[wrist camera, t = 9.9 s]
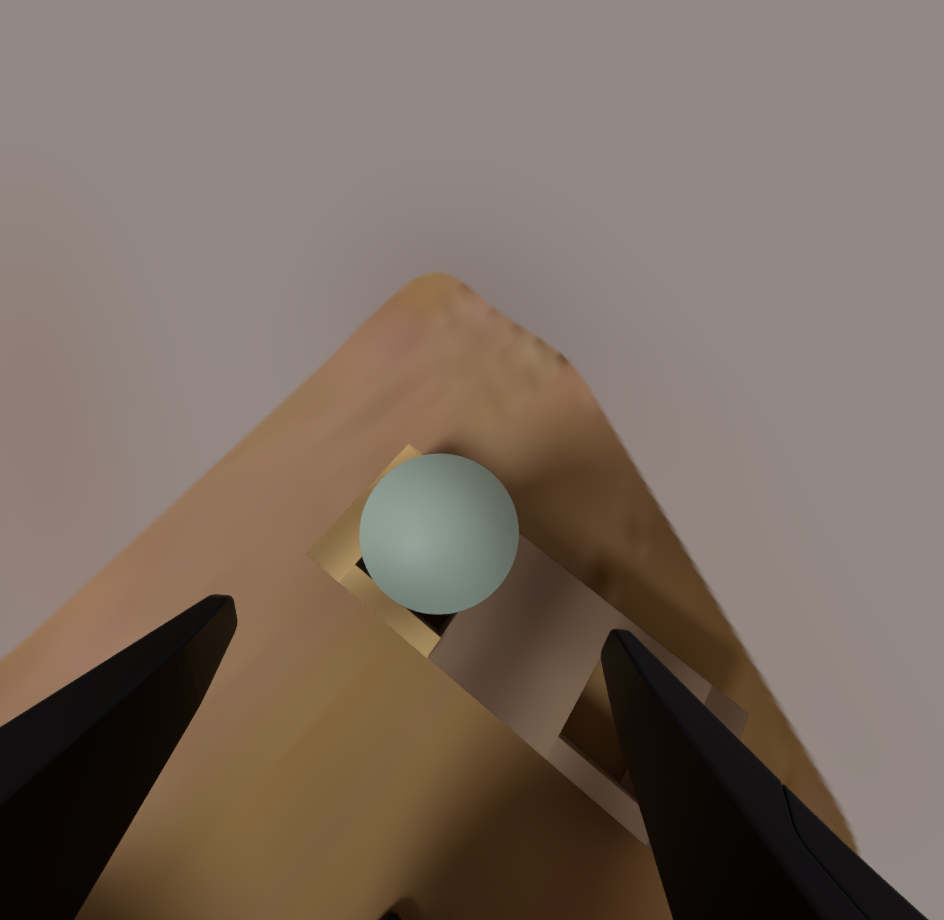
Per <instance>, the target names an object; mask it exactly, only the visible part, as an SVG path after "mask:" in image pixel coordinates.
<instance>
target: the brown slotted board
mask: <svg viewBox="0 0 944 920" xmlns="http://www.w3.org/2000/svg"><path fill="white" fill-rule="evenodd" d="M419 456H423V455H422V454H421V453H420V452H418V451H417V450H416V449H415V448H413V447H412V446H411V445H409V444H408V445H407V446H406V447H405V448H404V449H403V451H402V452H401V453H400V454H399V455H398V456H397V457H396V458H395V459H394V460H393V461H392V462H391V463H390V464H389V465H388V467H387V468H386V469H385V470H384V471H383V472H382V473H381V474H380V475H379V476H378V477H377V478H376V479H375V480H374V482H373V483H372V484H371V485H370V486H369V487H368V488H367V489H366V490H365V491H364V492H363V493H362V494H361V495H360V497H359V498H358V499H357V500H356V501H355V502H354V503H353V504H352V505H351V506H350V507H349V508H348V509H347V510H346V511H345V513H344V514H343V515H342V516H341V517H340V518H339V519H338V520H337V521H336V522H335V523H334V524H333V525H332V526H331V528H330V529H329V530H328V531H327V532H326V533H325V534H324V535H323V536H322V537H321V538H320V539H319V540H318V541H317V542H316V544H315V545H314V546H313V547H312V548H311V549H310V550H309V551H308V552H307V553H306V554H307V555H308V556H309V557H310V558H311V559H312V560H314V561H315V562H316V563H317V564H318V565H319V566H321V567H322V568H323V569H324V570H325V571H326V572H327V573H329V574H330V575H331V576H332V577H333V578H334V579H336V580H337V581H338V582H339V583H340V584H341V585H343V586H344V587H345V588H346V589H347V590H348V591H350V592H351V593H352V594H353V595H354V596H355V597H356V598H358V599H359V600H360V601H361V602H362V603H363V604H365V605H366V606H367V607H368V608H369V609H370V610H372V611H373V612H374V613H375V614H376V615H377V616H379V617H380V618H381V619H382V620H383V621H384V622H385V623H387V624H388V625H389V626H390V627H391V628H392V629H394V630H395V631H396V632H397V633H398V634H399V635H401V636H402V637H403V638H404V639H405V640H406V641H408V642H409V643H410V644H411V645H412V646H413V647H414V648H416V649H417V650H418V651H419V652H420V653H421V654H423V655H424V656H425V657H426V658H427V657H428V658H429V659H430V660H431V661H432V662H433V663H435V664H436V665H437V666H438V667H439V668H440V669H442V670H443V671H444V672H445V673H446V674H447V675H448V676H450V677H451V678H452V679H453V680H454V681H455V682H457V683H458V684H459V685H460V686H461V687H462V688H464V689H465V690H466V691H467V692H468V693H469V694H471V695H472V696H473V697H474V698H475V699H476V700H478V701H479V702H480V703H481V704H482V705H483V706H484V707H486V708H487V709H488V710H489V711H490V712H491V713H493V714H494V715H495V716H496V717H497V718H498V719H500V720H501V721H502V722H503V723H504V724H505V725H507V726H508V727H509V728H510V729H511V730H512V731H513V732H515V733H516V734H517V735H518V736H519V737H520V738H522V739H523V740H524V741H525V742H526V743H527V744H529V745H530V746H531V747H532V748H533V749H534V750H536V751H537V752H538V753H539V754H540V755H541V756H542V757H544V758H545V759H546V760H547V761H548V762H549V763H551V764H552V765H553V766H554V767H555V768H556V769H558V770H559V771H560V772H561V773H562V774H563V775H565V776H566V777H567V778H568V779H569V780H570V781H572V782H573V783H574V784H575V785H576V786H577V787H578V788H580V789H581V790H582V791H583V792H584V793H585V794H587V795H588V796H589V797H590V798H591V799H592V800H594V801H595V802H596V803H597V804H598V805H599V806H601V807H602V808H603V809H604V810H605V811H606V812H607V813H609V814H610V815H611V816H612V817H613V818H614V819H616V820H617V821H618V822H619V823H620V824H621V825H623V826H624V827H625V828H626V829H627V830H628V831H630V832H631V833H632V834H633V835H634V836H635V837H636V838H638V839H639V840H640V841H641V842H642V843H643V844H645V845H646V846H647V847H648V848H649V849H650V850H652V848H651V845H650V841H649V838H648V835H647V832H646V828H645V825H644V822H643V818H642V815H641V812H640V808H639V805H638V802H637V799H636V795H635V792H634V789H633V785H632V782H631V779H630V775H629V772H628V769H626V771H625V773H624V775H623V778H622V780H621V782H619V781H617V780H616V779H615V778H614V777H613V776H612V775H610V774H609V773H608V772H607V771H606V770H604V769H603V768H602V767H601V766H600V765H599V764H597V763H596V762H595V761H594V760H593V759H591V758H590V757H589V756H588V755H587V754H586V753H584V752H583V751H582V750H581V749H580V748H578V747H577V746H576V745H575V744H574V743H573V742H571V741H570V740H569V739H568V738H567V737H565V736H564V735H563V734H562V733H561V730H562V728H563V726H564V725H565V723H566V721H567V719H568V717H569V715H570V713H571V711H572V710H573V708H574V706H575V704H576V702H577V700H578V698H579V696H580V695H581V693H582V691H583V689H584V687H585V685H586V683H587V681H588V680H589V678H590V676H591V674H592V672H593V670H594V668H595V666H596V665H597V663H598V661H599V659H600V657H601V650H602V647H603V645H604V643H605V641H606V639H607V636H608V634H609V632H610V631H611V630H612V629H625V630H628V631H630V632H631V633H632V634H633V635H634V636H635V637H636V638H637V639H638V640H639V641H640V642H641V643H642V644H643V645H644V646H645V647H646V648H648V649H649V650H650V651H651V652H652V653H653V654H654V655H655V656H656V657H657V658H658V659H659V660H660V661H661V662H662V663H663V664H664V665H665V666H666V667H667V668H668V669H669V670H670V671H671V672H672V673H673V674H674V675H675V676H676V677H677V678H678V679H679V680H680V681H681V682H682V683H683V684H684V685H685V686H686V687H687V688H688V689H689V690H690V691H691V692H692V693H693V694H694V695H695V696H696V697H697V698H698V699H699V700H700V701H701V702H702V703H703V704H704V705H705V706H706V707H707V708H708V709H709V710H710V711H711V712H712V713H713V714H714V715H715V716H716V717H717V718H718V719H719V720H720V721H721V722H722V723H723V724H724V725H725V726H726V727H727V728H728V729H729V730H730V731H731V732H732V733H733V734H734V735H735V736H736V737H737V738H738V739H739V740H740V737H741V734H742V731H743V729H744V726H745V723H746V720H747V717H748V715H749V714H748V713H747V712H746V711H744V710H743V709H742V708H741V707H739V706H738V705H737V704H736V703H734V702H733V701H732V700H731V699H729V698H728V697H727V696H725V695H724V694H723V693H722V692H720V691H719V690H718V689H717V688H715V687H714V686H713V685H712V684H710V683H709V682H708V681H706V680H705V679H704V678H703V677H701V676H700V675H699V674H698V673H696V672H695V671H694V670H692V669H691V668H690V667H689V666H687V665H686V664H685V663H684V662H682V661H681V660H680V659H679V658H677V657H676V656H675V655H673V654H672V653H671V652H670V651H668V650H667V649H666V648H665V647H663V646H662V645H661V644H660V643H658V642H657V641H656V640H654V639H653V638H652V637H651V636H649V635H648V634H647V633H646V632H644V631H643V630H642V629H640V628H639V627H638V626H637V625H635V624H634V623H633V622H632V621H630V620H629V619H628V618H627V617H625V616H624V615H623V614H621V613H620V612H619V611H618V610H616V609H615V608H614V607H613V606H611V605H610V604H609V603H608V602H606V601H605V600H604V599H602V598H601V597H600V596H599V595H597V594H596V593H595V592H594V591H592V590H591V589H590V588H588V587H587V586H586V585H585V584H583V583H582V582H581V581H580V580H578V579H577V578H576V577H575V576H573V575H572V574H571V573H569V572H568V571H567V570H566V569H564V568H563V567H562V566H561V565H559V564H558V563H557V562H556V561H554V560H553V559H552V558H550V557H549V556H548V555H547V554H545V553H544V552H543V551H542V550H540V549H539V548H538V547H536V546H535V545H534V544H533V543H531V542H530V541H529V540H528V539H526V538H525V537H524V536H523V535H521V534H520V533H519V541H518V549H517V552H516V556H515V560H514V562H513V565H512V567H511V569H510V571H509V573H508V575H507V576H506V578H505V579H504V581H503V582H502V583H501V585H500V586H499V587H498V588H497V589H496V590H495V591H494V592H493V593H492V594H491V595H490V596H489V597H487V598H486V599H485V600H483V601H482V602H480V603H478V604H477V605H475V606H473V607H471V608H468V609H466V610H463V611H459V612H455V613H451V614H448V616H447V617H446V618H445V620H444V621H443V623H442V624H441V625H440V627H439V628H437V627H436V626H435V625H433V624H432V623H431V622H430V621H429V620H427V619H426V618H425V617H424V616H423V615H422V614H420V613H419V612H417V611H414V610H411V609H408V608H406V607H404V606H402V605H400V604H398V603H396V602H395V601H394V600H392V599H391V598H389V597H388V596H387V595H386V594H385V593H384V592H383V591H382V590H381V589H380V588H379V587H378V586H377V584H376V583H375V582H374V581H373V579H372V577H371V576H370V574H369V572H368V570H367V568H366V565H365V563H364V561H363V557H362V553H361V548H360V540H359V534H360V522H361V517H362V513H363V510H364V507H365V504H366V502H367V500H368V497H369V496H370V494H371V492H372V491H373V489H374V488H375V486H376V485H377V484H378V483H379V481H380V480H381V479H382V478H383V477H384V476H385V475H386V474H387V473H388V472H390V471H391V470H392V469H394V468H395V467H397V466H398V465H400V464H402V463H403V462H405V461H408V460H410V459H413V458H416V457H419Z"/></svg>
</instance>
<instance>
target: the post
mask: <svg viewBox="0 0 944 920" xmlns="http://www.w3.org/2000/svg"><path fill="white" fill-rule="evenodd" d="M359 540H360V548H361V553H362V557H363V561H364V563H365V565H366V568H367V570H368V572H369V574H370V576H371V577H372V579H373V581H374V582H375V583H376V584H377V586H378V587H379V588H380V589H381V590H382V591H383V592H384V593H385V594H386V595H387V596H388V597H389V598H391V599H392V600H394V601H395V602H396V603H398V604H400V605H402V606H404V607H406V608H408V609H411V610H414V611H417V612H421V613H426V614H451V613H455V612H459V611H463V610H466V609H468V608H471V607H473V606H475V605H477V604H478V603H480V602H482V601H483V600H485V599H486V598H487V597H489V596H490V595H491V594H492V593H493V592H494V591H495V590H496V589H497V588H498V587H499V586H500V585H501V583H502V582H503V581H504V579H505V578H506V576H507V575H508V573H509V571H510V569H511V567H512V565H513V562H514V560H515V556H516V552H517V549H518V541H519V525H518V518H517V514H516V510H515V507H514V504H513V502H512V499H511V497H510V495H509V493H508V492H507V490H506V489H505V487H504V486H503V484H502V483H501V482H500V481H499V480H498V479H497V477H496V476H495V475H494V474H492V473H491V472H490V471H489V470H488V469H486V468H485V467H483V466H482V465H480V464H478V463H476V462H474V461H472V460H470V459H467V458H465V457H462V456H457V455H453V454H429V455H423V456H419V457H416V458H413V459H410V460H408V461H405V462H403V463H402V464H400V465H398V466H397V467H395V468H394V469H392V470H391V471H390V472H388V473H387V474H386V475H385V476H384V477H383V478H382V479H381V480H380V481H379V483H378V484H377V485H376V486H375V488H374V489H373V491H372V492H371V494H370V496H369V497H368V500H367V502H366V504H365V507H364V510H363V513H362V517H361V522H360V534H359Z"/></svg>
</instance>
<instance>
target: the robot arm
mask: <svg viewBox="0 0 944 920" xmlns="http://www.w3.org/2000/svg"><path fill="white" fill-rule="evenodd" d="M236 627H237V615H236V610H235V604H234V600H233V598H232V597H231V596H229V595H219V594H213V595H210V596H208V597H206V598H205V599H203V600H201V601H200V602H198V603H197V604H195V605H193V606H192V607H190V608H189V609H187V610H185V611H184V612H182V613H181V614H179V615H178V616H176V617H174V618H173V619H171V620H170V621H168V622H166V623H165V624H163V625H162V626H160V627H158V628H157V629H155V630H154V631H152V632H150V633H149V634H147V635H146V636H144V637H143V638H141V639H139V640H138V641H136V642H135V643H133V644H131V645H130V646H128V647H127V648H125V649H123V650H122V651H120V652H119V653H117V654H116V655H114V656H112V657H111V658H109V659H108V660H106V661H104V662H103V663H101V664H100V665H98V666H96V667H95V668H93V669H92V670H90V671H89V672H87V673H85V674H84V675H82V676H81V677H79V678H77V679H76V680H74V681H73V682H71V683H69V684H68V685H66V686H65V687H63V688H62V689H60V690H58V691H57V692H55V693H54V694H52V695H50V696H49V697H47V698H46V699H44V700H42V701H41V702H39V703H38V704H36V705H34V706H33V707H31V708H30V709H28V710H27V711H25V712H23V713H22V714H20V715H19V716H17V717H15V718H14V719H12V720H11V721H9V722H7V723H6V724H4V725H3V726H1V727H0V920H74V919H75V917H76V916H77V914H78V912H79V911H80V909H81V907H82V905H83V904H84V902H85V900H86V899H87V897H88V895H89V894H90V892H91V890H92V888H93V887H94V885H95V883H96V882H97V880H98V878H99V877H100V875H101V873H102V871H103V870H104V868H105V866H106V865H107V863H108V861H109V860H110V858H111V856H112V854H113V853H114V851H115V849H116V848H117V846H118V844H119V843H120V841H121V839H122V837H123V836H124V834H125V832H126V831H127V829H128V827H129V826H130V824H131V822H132V820H133V819H134V817H135V815H136V814H137V812H138V810H139V809H140V807H141V805H142V803H143V802H144V800H145V798H146V797H147V795H148V793H149V792H150V790H151V788H152V786H153V785H154V783H155V781H156V780H157V778H158V776H159V775H160V773H161V771H162V769H163V768H164V766H165V764H166V763H167V761H168V759H169V758H170V756H171V754H172V752H173V751H174V749H175V747H176V746H177V744H178V742H179V741H180V739H181V737H182V735H183V734H184V732H185V730H186V729H187V727H188V725H189V724H190V722H191V720H192V718H193V717H194V715H195V713H196V711H197V710H198V708H199V706H200V704H201V702H202V700H203V698H204V696H205V694H206V692H207V690H208V688H209V686H210V684H211V682H212V680H213V677H214V675H215V673H216V671H217V669H218V667H219V665H220V663H221V660H222V658H223V656H224V654H225V652H226V650H227V648H228V646H229V643H230V641H231V639H232V637H233V635H234V633H235V631H236ZM601 662H602V667H603V672H604V677H605V682H606V686H607V691H608V696H609V701H610V706H611V711H612V715H613V720H614V724H615V728H616V732H617V736H618V739H619V742H620V746H621V749H622V752H623V756H624V759H625V762H626V766H627V769H628V772H629V775H630V779H631V782H632V785H633V789H634V792H635V795H636V799H637V802H638V805H639V808H640V812H641V815H642V818H643V822H644V825H645V828H646V832H647V835H648V838H649V841H650V845H651V848H652V851H653V855H654V858H655V861H656V865H657V868H658V871H659V874H660V878H661V881H662V884H663V888H664V891H665V894H666V898H667V901H668V904H669V907H670V911H671V914H672V917H673V920H928V919H927V918H926V917H925V916H924V915H923V914H921V913H920V912H919V911H918V910H917V909H916V908H915V907H914V906H913V905H911V904H910V903H909V902H908V901H907V900H906V899H905V898H904V897H903V896H901V895H900V894H899V893H898V892H897V891H896V890H895V889H894V888H893V887H892V886H890V885H889V884H888V883H887V882H886V881H885V880H884V879H883V878H882V877H880V875H878V874H877V873H876V872H875V871H874V870H873V869H872V868H871V867H870V866H869V865H868V864H867V863H866V862H864V861H863V860H862V859H861V858H860V857H859V856H858V855H857V854H856V853H855V852H854V851H853V850H851V849H850V848H849V847H848V846H847V845H846V844H845V843H844V842H843V841H842V840H841V839H840V838H839V837H838V836H837V835H836V834H834V833H833V832H832V831H831V830H830V829H829V828H828V827H827V826H826V825H825V824H824V823H823V822H822V821H821V820H820V819H819V818H818V817H817V816H816V815H815V814H814V813H813V812H812V811H811V810H810V809H809V808H808V807H807V806H806V805H805V804H804V803H803V802H802V801H801V800H800V799H799V798H798V797H797V796H796V795H795V794H794V793H793V792H792V791H791V790H790V789H789V788H788V787H787V786H785V785H782V783H781V781H780V780H779V779H778V778H777V777H776V776H775V775H774V774H773V773H772V772H771V771H770V770H769V769H768V768H767V767H766V766H765V765H764V764H763V763H762V762H761V761H760V760H759V759H758V758H757V757H756V756H755V755H754V754H753V753H752V752H751V751H750V750H749V749H748V748H747V747H746V746H745V745H744V744H743V743H742V742H741V741H740V740H739V739H738V738H737V737H736V736H735V735H734V734H733V733H732V732H731V731H730V730H729V729H728V728H727V727H726V726H725V725H724V724H723V723H722V722H721V721H720V720H719V719H718V718H717V717H716V716H715V715H714V714H713V713H712V712H711V711H710V710H709V709H708V708H707V707H706V706H705V705H704V704H703V703H702V702H701V701H700V700H699V699H698V698H697V697H696V696H695V695H694V694H693V693H692V692H691V691H690V690H689V689H688V688H687V687H686V686H685V685H684V684H683V683H682V682H681V681H680V680H679V679H678V678H677V677H676V676H675V675H674V674H673V673H672V672H671V671H670V670H669V669H668V668H667V667H666V666H665V665H664V664H663V663H662V662H661V661H660V660H659V659H658V658H657V657H656V656H655V655H654V654H653V653H652V652H651V651H650V650H649V649H648V648H646V647H645V646H644V645H643V644H642V643H641V642H640V641H639V640H638V639H637V638H636V637H635V636H634V635H633V634H632V633H631V632H630V631H628V630H625V629H612V630H611V631H610V632H609V634H608V636H607V639H606V641H605V643H604V645H603V647H602V650H601ZM381 920H401V918H400V917H399V916H398V915H397V914H395V913H388V914H387V915H385V916H384V917H383V918H382V919H381Z"/></svg>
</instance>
